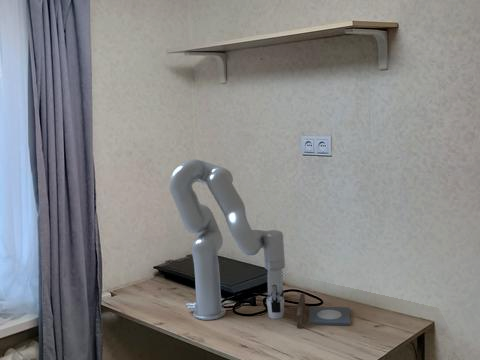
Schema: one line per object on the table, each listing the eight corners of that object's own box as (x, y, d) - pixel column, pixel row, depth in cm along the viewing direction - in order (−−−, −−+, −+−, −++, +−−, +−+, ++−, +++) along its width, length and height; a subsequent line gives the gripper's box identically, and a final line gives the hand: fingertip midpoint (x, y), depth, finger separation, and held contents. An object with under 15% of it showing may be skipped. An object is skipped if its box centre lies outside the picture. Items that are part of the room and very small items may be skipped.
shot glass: (273, 311, 209) (272, 293, 208) (288, 314, 205) (287, 296, 204) (263, 317, 204) (262, 299, 203) (279, 320, 200) (278, 302, 199)
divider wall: (296, 328, 192) (296, 315, 191) (300, 305, 214) (300, 293, 213) (301, 328, 192) (301, 315, 191) (305, 305, 213) (304, 293, 213)
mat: (308, 324, 195) (308, 321, 195) (310, 309, 210) (310, 306, 209) (350, 325, 192) (350, 323, 192) (349, 310, 207) (349, 307, 207)
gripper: (267, 257, 211) (270, 299, 213) (261, 270, 194) (264, 316, 196) (286, 256, 209) (289, 299, 212) (282, 270, 192) (285, 316, 195)
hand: (277, 307), depth 204 cm, fingers open, 9 cm apart
